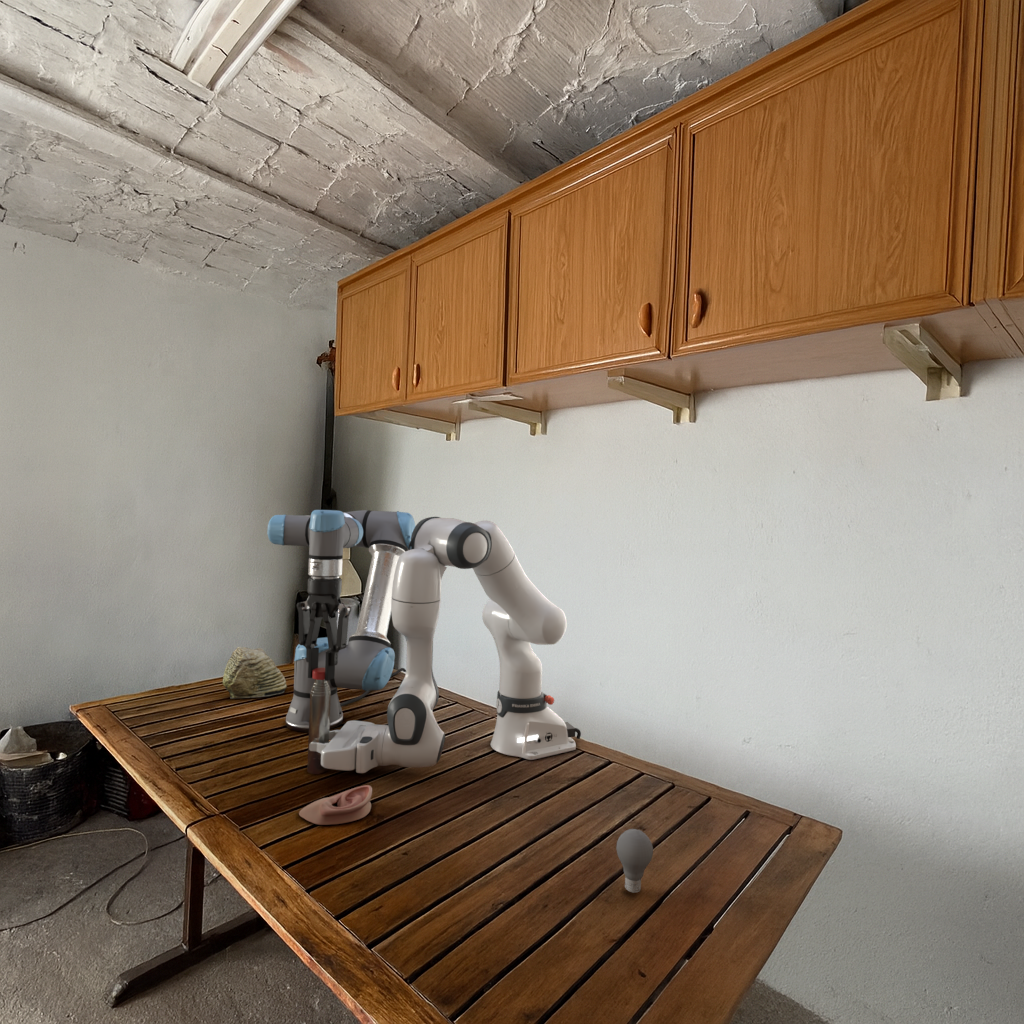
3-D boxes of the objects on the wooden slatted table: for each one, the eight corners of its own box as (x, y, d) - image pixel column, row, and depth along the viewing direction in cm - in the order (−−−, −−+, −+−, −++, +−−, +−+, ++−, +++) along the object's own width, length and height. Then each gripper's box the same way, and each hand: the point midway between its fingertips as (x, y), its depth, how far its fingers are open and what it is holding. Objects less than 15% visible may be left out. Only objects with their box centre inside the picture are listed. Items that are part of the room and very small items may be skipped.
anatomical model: (291, 800, 123) (320, 775, 134) (290, 820, 123) (320, 794, 134) (354, 810, 120) (379, 784, 132) (353, 830, 121) (378, 803, 132)
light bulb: (610, 879, 108) (613, 822, 108) (644, 879, 109) (647, 822, 109) (619, 902, 102) (622, 840, 102) (655, 901, 103) (658, 840, 103)
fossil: (218, 695, 195) (220, 647, 195) (278, 685, 208) (279, 640, 207) (228, 703, 189) (230, 653, 188) (289, 692, 201) (290, 645, 201)
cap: (322, 674, 149) (323, 666, 149) (333, 677, 147) (333, 669, 147) (308, 677, 146) (309, 669, 146) (319, 680, 144) (319, 673, 144)
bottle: (332, 768, 148) (335, 671, 147) (318, 775, 144) (321, 675, 143) (317, 764, 150) (321, 668, 149) (303, 771, 146) (306, 672, 145)
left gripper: (283, 575, 145) (280, 677, 145) (347, 581, 140) (343, 687, 140) (304, 572, 152) (300, 669, 153) (365, 578, 147) (361, 678, 147)
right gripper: (385, 715, 156) (330, 712, 157) (362, 747, 136) (298, 743, 136) (384, 741, 156) (329, 737, 157) (361, 777, 136) (297, 772, 137)
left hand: (321, 677), depth 146 cm, fingers closed on cap, 4 cm apart
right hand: (314, 740), depth 147 cm, fingers closed on bottle, 4 cm apart
